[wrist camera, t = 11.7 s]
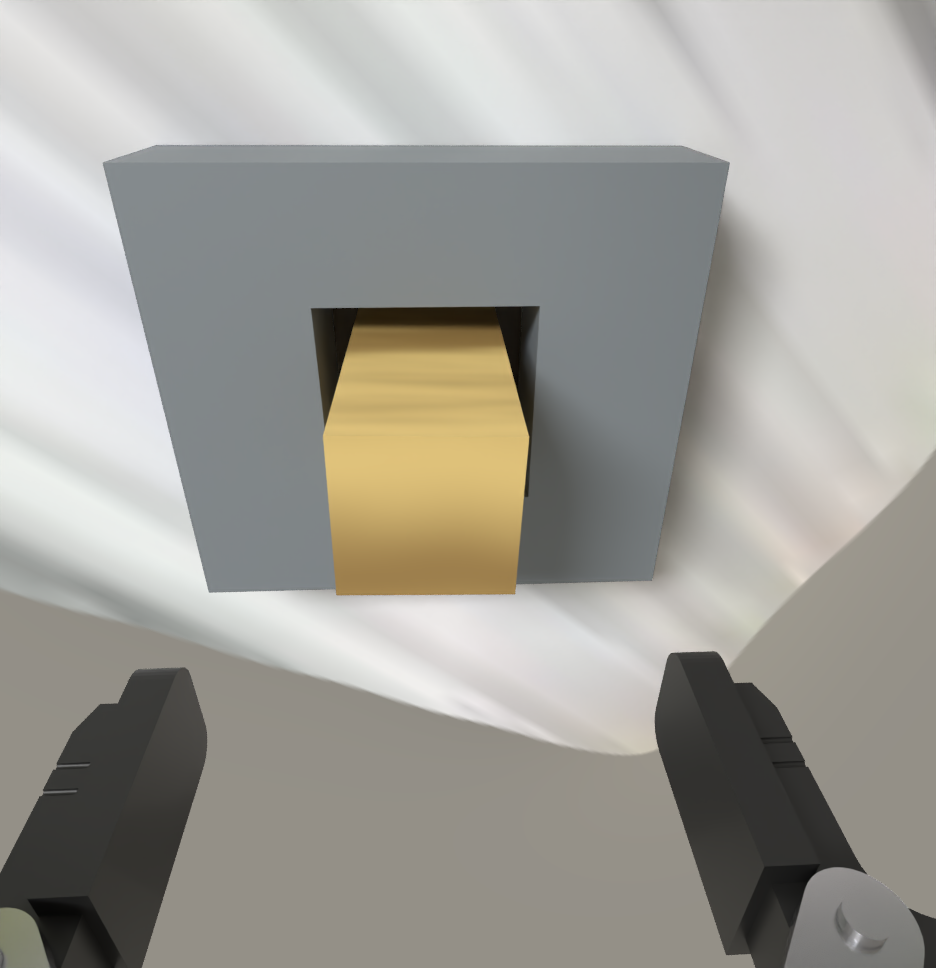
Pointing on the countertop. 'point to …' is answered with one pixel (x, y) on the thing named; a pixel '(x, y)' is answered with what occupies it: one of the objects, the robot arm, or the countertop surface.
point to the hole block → (419, 283)
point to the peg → (426, 455)
